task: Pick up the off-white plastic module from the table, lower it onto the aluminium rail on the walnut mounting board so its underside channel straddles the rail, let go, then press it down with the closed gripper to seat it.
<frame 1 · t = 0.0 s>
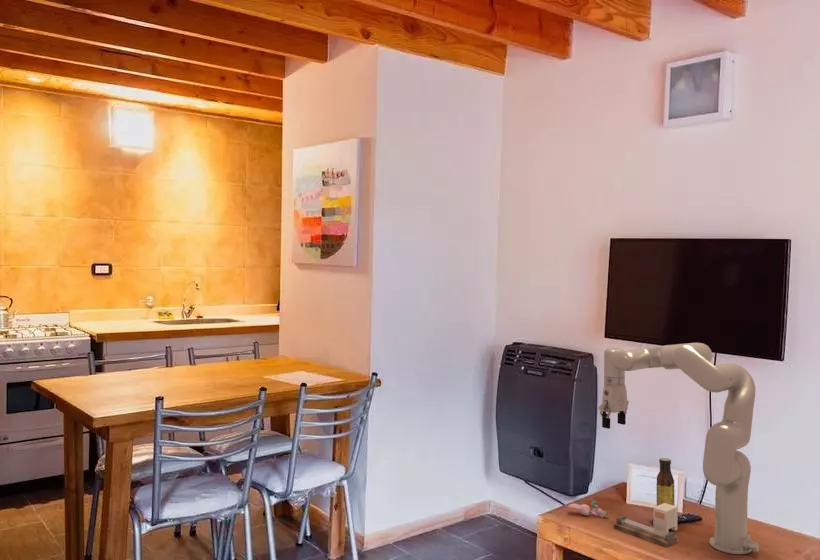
hand: (613, 425, 256), 31 cm above the table, tool pointing down, fingers open, 9 cm apart
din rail: (644, 527, 232), on the mounting board, point 2 cm above the table
sauce bottle: (665, 512, 252), on the table
module: (665, 529, 236), on the table
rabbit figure: (588, 516, 249), on the table
mounting board: (644, 534, 232), on the table
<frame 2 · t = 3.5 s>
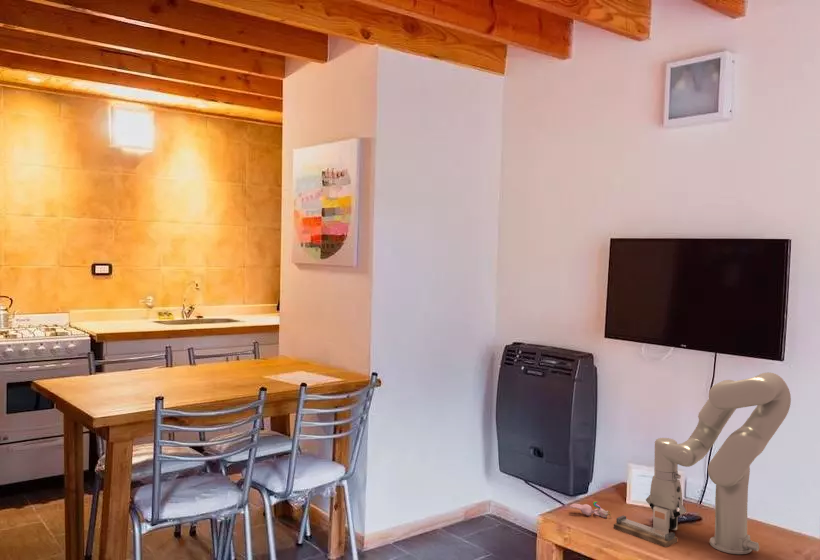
hand: (665, 525, 236), 1 cm above the table, tool pointing down, fingers closed on module, 5 cm apart
module: (665, 529, 236), on the table, touching gripper
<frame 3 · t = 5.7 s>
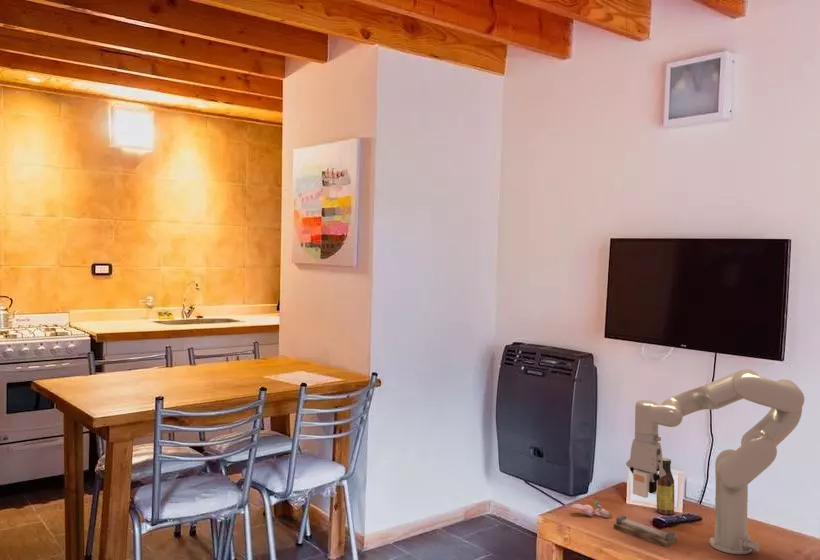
hand: (645, 489, 232), 16 cm above the table, tool pointing down, fingers closed on module, 5 cm apart
module: (645, 493, 232), point 14 cm above the table, touching gripper
when the fingers open (4 cm above the table, at t = 7.8 s): module stays where it is, resting on mounting board.
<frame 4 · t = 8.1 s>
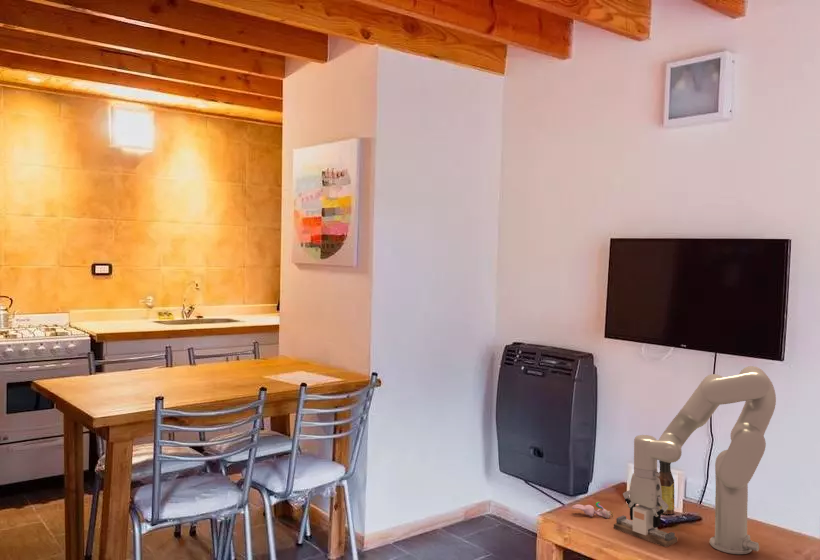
hand: (644, 522, 232), 4 cm above the table, tool pointing down, fingers open, 8 cm apart
module: (644, 530, 232), point 1 cm above the table, touching mounting board
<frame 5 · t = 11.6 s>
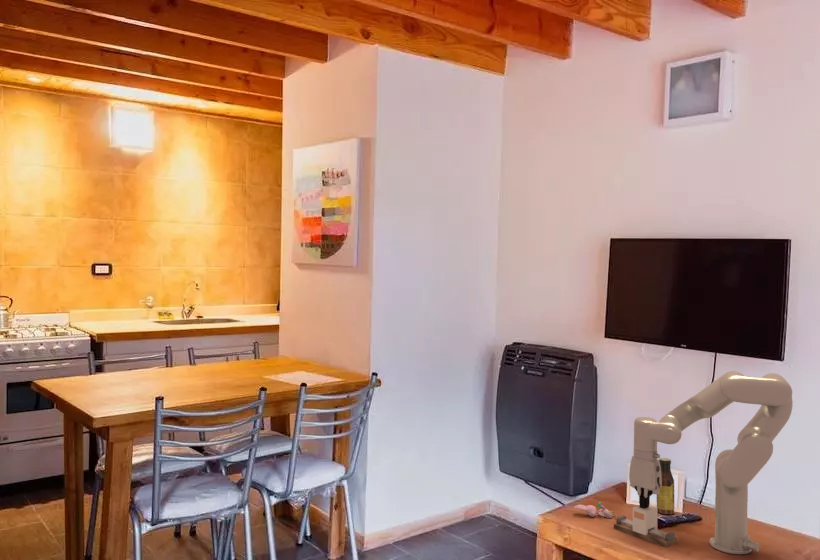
hand: (644, 507, 232), 10 cm above the table, tool pointing down, fingers closed
module: (644, 530, 232), point 2 cm above the table, touching gripper, mounting board
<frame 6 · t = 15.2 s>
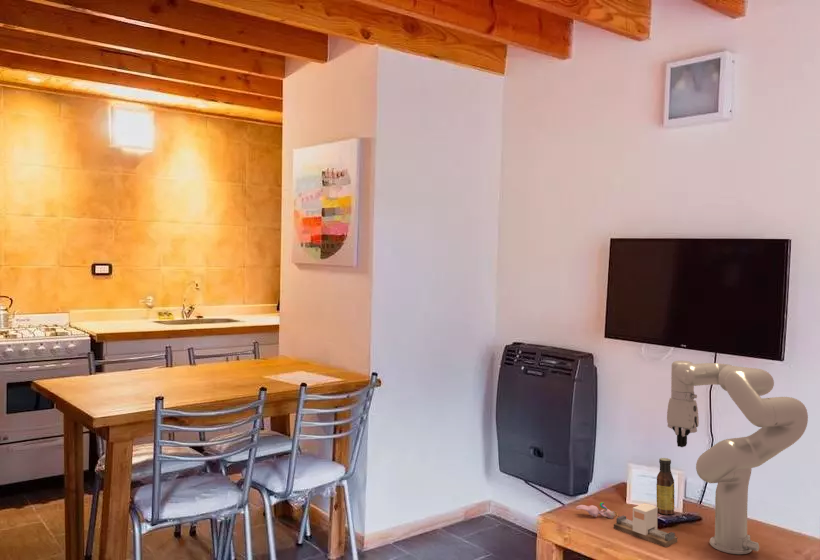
hand: (681, 446, 244), 27 cm above the table, tool pointing down, fingers closed
module: (644, 530, 232), point 1 cm above the table, touching mounting board
at the end: module inside the target area on the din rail (0.0 cm from its centre), point 1.5 cm above the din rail's base; module tilted 0°; the gripper is holding nothing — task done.
